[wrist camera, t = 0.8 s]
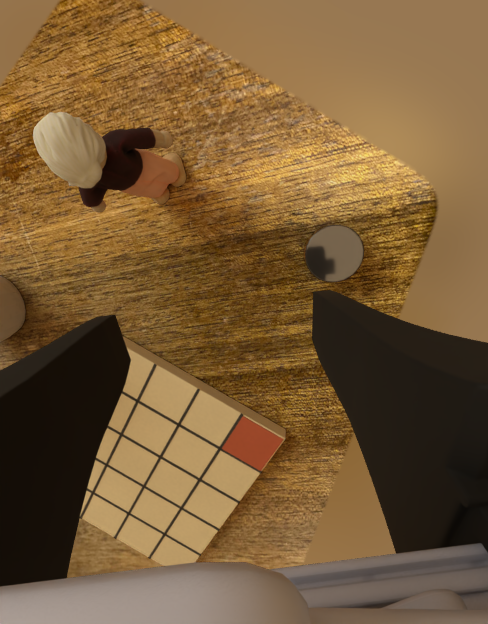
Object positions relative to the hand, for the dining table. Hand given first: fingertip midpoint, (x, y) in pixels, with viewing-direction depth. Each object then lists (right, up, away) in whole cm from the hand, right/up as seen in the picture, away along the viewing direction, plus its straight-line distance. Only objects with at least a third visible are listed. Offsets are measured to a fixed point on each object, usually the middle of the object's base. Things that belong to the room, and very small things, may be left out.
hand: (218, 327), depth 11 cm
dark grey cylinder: (+8, +6, +14) cm, 18 cm away
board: (-9, -17, +24) cm, 31 cm away
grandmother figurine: (-6, +12, +15) cm, 21 cm away
